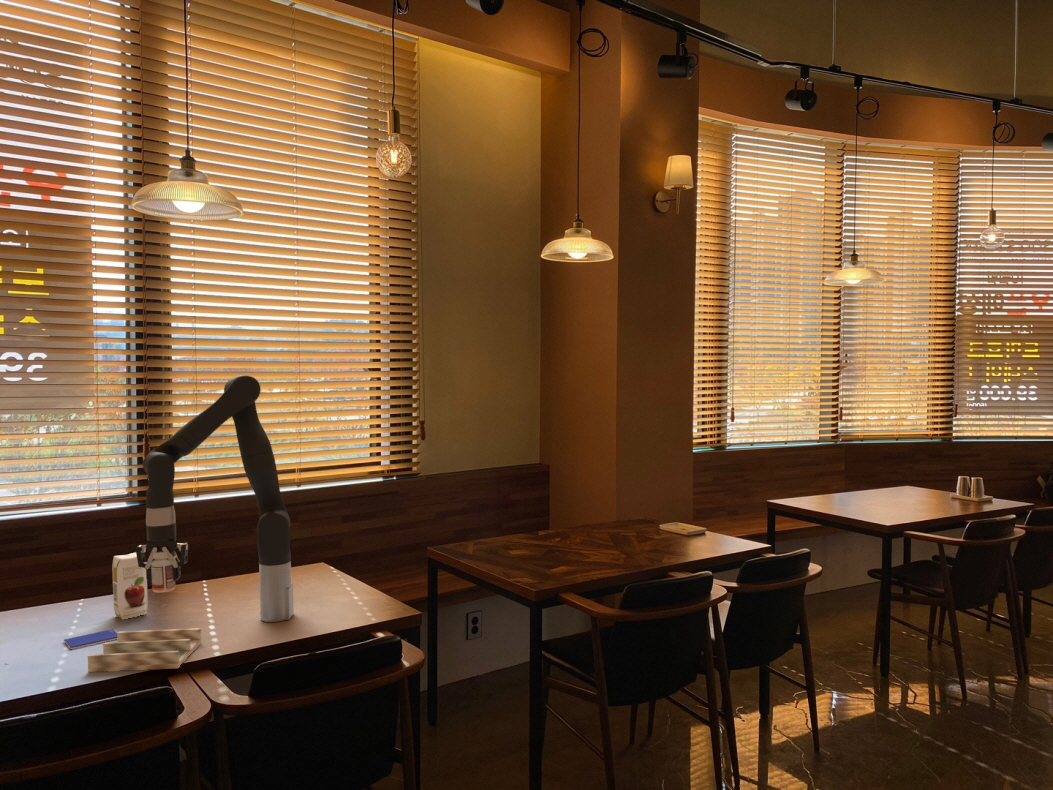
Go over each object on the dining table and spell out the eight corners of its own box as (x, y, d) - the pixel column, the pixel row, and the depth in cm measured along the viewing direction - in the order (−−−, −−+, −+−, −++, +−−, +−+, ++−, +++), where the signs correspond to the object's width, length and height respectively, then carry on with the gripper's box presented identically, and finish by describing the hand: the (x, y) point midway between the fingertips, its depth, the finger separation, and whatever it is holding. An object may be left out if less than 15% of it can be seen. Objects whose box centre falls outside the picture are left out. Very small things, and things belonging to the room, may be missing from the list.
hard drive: (112, 628, 226) (63, 638, 218) (120, 635, 220) (70, 646, 211) (112, 633, 226) (64, 644, 218) (120, 640, 220) (70, 652, 212)
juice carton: (111, 616, 240) (109, 556, 239) (140, 609, 246) (138, 550, 246) (121, 621, 235) (118, 559, 234) (150, 614, 241) (148, 554, 241)
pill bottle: (175, 585, 224) (173, 547, 224) (176, 591, 218) (174, 551, 218) (152, 588, 221) (150, 549, 221) (152, 594, 216) (150, 554, 215)
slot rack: (201, 643, 216) (201, 628, 216) (178, 668, 198) (177, 652, 197) (119, 646, 214) (118, 631, 213) (88, 672, 196) (87, 656, 195)
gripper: (191, 518, 224) (194, 575, 224) (139, 520, 222) (142, 578, 223) (182, 523, 216) (185, 583, 217) (129, 526, 215) (131, 585, 215)
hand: (163, 580), depth 220 cm, fingers closed on pill bottle, 6 cm apart
